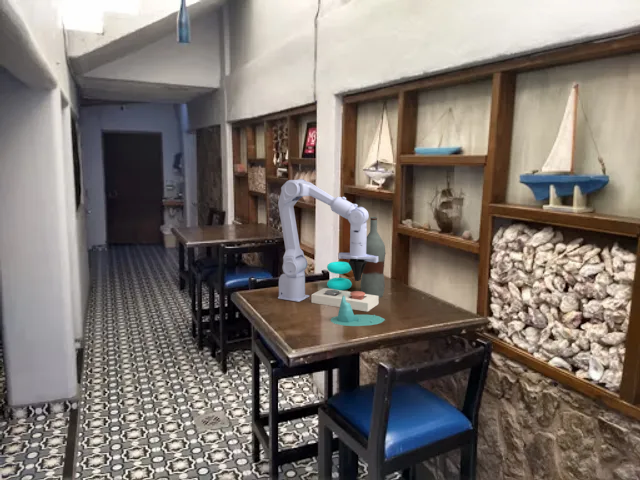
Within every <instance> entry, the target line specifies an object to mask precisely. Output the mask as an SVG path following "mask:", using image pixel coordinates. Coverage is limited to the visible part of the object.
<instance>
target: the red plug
mask: <svg viewBox="0 0 640 480" xmlns="http://www.w3.org/2000/svg"><path fill="white" fill-rule="evenodd" d="M350 292H351V293H350V295H351V296H352V299H358V300H362V299H363V296H364V295H365V293H364V292H362V291H361V290H353V291H350Z"/></svg>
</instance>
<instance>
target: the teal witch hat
mask: <svg viewBox="0 0 640 480" xmlns="http://www.w3.org/2000/svg"><path fill="white" fill-rule="evenodd" d="M385 321H386V319H385V318H383V317H381V316H379V315H376V314H354V309H352V308H351V305H350V303H347V302H346V298H345V296H342V300H341V304H340V307H339V309H338V314H337V316H333V317H331V318H330V322H331V323H333V324H335V325H338V326H339V325H340V326H345V327H362V326H365V327H367V326H373V325H378V324H382V323H383V322H385Z"/></svg>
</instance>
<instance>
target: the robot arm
mask: <svg viewBox="0 0 640 480" xmlns="http://www.w3.org/2000/svg"><path fill="white" fill-rule="evenodd" d="M280 190H281V191H280V195H279V198H278V203H277V204H278V211H279V216H280V217H279V218H280V223H281V224H280V225H281V229H282V230H281V231H282V236H283V237H282V238H283V241H284V249H285V252H284V254H283V257H282V260H283V264H282V271H283V273H282V274H280V276H279V278H278V297H277V299H279V300H285V301H292V302H298V303H300V302H302V301H303V300H306V299H308V298H309V297H310V295H309V294H306V273H305V270H306V269H307V267H308V263H309V262H308V260H307V259H306V256H305V254H304V251H303V250H302V249H301V247H300V246H301V245H300V239H299V234H298V227H297V221H296V214H295V208H294V206H295V205H296V204H297V202H298V201H299V200H300V199H301V198H302V199H303V197H312V198H314V199H316V200H318V201H320V202H322V203H324V204H326V205H328V206H330V210H331V211H332V212H333V213H335V214H336V215H338V216H341V217H342V218H344V219H346V220H347V221H348V222H349V224H350V230H349V234H350V235H349V236H350V238H349V252H338V253H337V255H338V256H337V257H338V259H339V260H341V259H342V260H345V259H346V260H349V261H348V263H349V265H350V267H351V271H352V273H353V279H354V281H355V282H361V278H362V272H363V269H364V267H365V265H366V263H367V261H369V262H374V263H377V262H378V256H373V255H368V254H366V242H367V236H368V234H367V232H368V229H367V223H368V220H369V217H370V216H369V212H368V210H367V209H366V208H365V207H363V206H359V205H358V204H357V203H352V202H351V201H349V200H347V197H345V196H342V197H341V196H337V197H335V196H333V195H331V194H330V193H328V192H326V191H325V190H323V189H322V188H319V186H317V185H315V184H314V183H312V182H310V181H307V180H305V179H304V178H298V179H289V180H286V182H285V183H283V185H282V186H281V187H280ZM310 298H311V297H310Z"/></svg>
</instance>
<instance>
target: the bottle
mask: <svg viewBox="0 0 640 480" xmlns="http://www.w3.org/2000/svg"><path fill="white" fill-rule="evenodd" d="M369 225H370V227H369V233H368V234H367V242H366V254H368V255H373V256H378V262H377V263H374V262H369V261H367V263H366V265H365V267H364V269H363V272H362V275H361V280H360V291H362V292H364V293H365V294H369V295H376V296H379V299H381V298H383V296H384V293H385V287H386V284H385V274H384V270H385V260H386V245H385V242H384V241H383V239H382V237H381V235H380V234H379V232H378V217H377V216H370V224H369Z"/></svg>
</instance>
